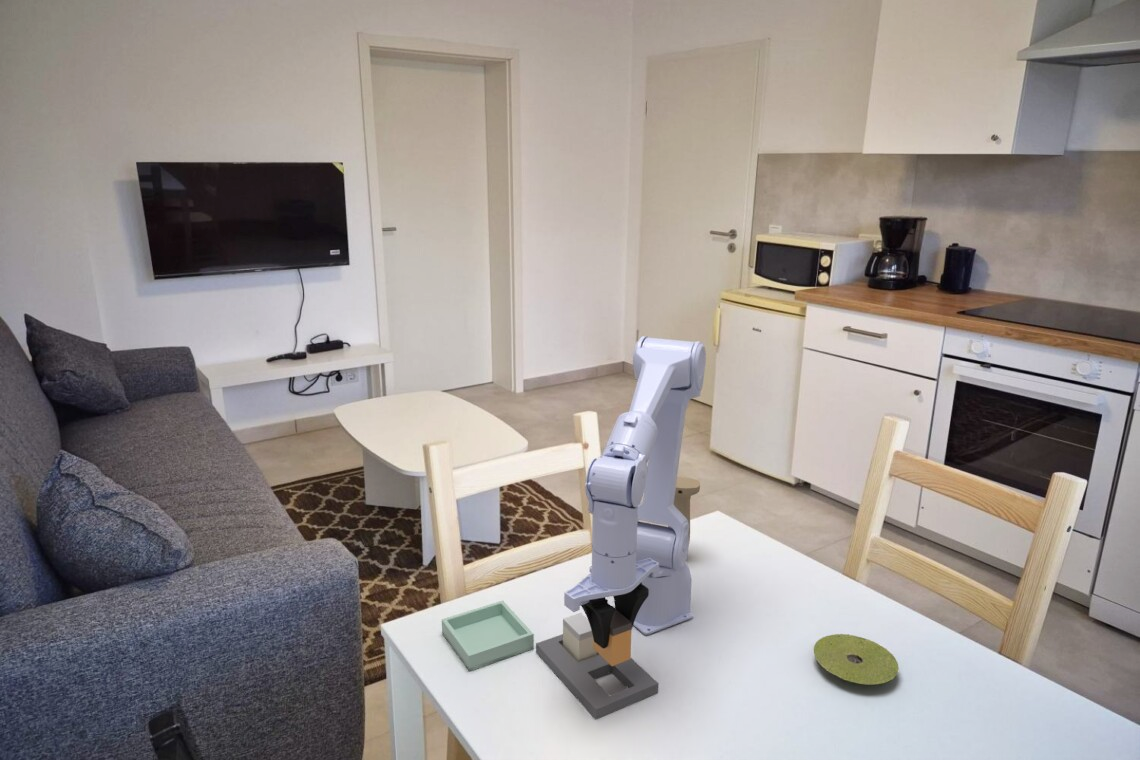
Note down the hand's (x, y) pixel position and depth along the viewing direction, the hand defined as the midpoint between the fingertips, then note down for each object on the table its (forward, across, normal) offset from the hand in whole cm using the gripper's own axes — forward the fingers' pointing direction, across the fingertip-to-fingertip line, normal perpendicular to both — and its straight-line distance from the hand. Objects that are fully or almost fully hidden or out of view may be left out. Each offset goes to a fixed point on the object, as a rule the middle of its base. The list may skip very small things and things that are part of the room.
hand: (611, 638), depth 99 cm
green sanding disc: (+8, -30, +17) cm, 36 cm away
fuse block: (+8, 0, -4) cm, 9 cm away
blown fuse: (+2, 0, 0) cm, 2 cm away
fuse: (+8, -1, -8) cm, 11 cm away
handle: (+8, -32, -20) cm, 39 cm away
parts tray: (+8, +8, -19) cm, 22 cm away
